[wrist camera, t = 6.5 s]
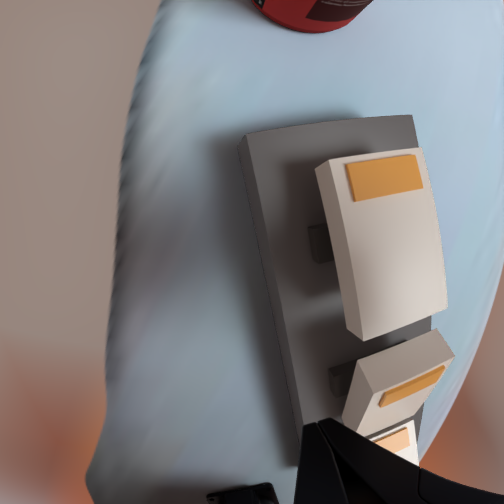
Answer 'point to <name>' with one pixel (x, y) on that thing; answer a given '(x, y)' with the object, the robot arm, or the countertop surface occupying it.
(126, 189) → the countertop surface
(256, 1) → the canned food
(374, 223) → the rocker
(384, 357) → the block
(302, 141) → the rocker switch panel
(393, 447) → the rocker
